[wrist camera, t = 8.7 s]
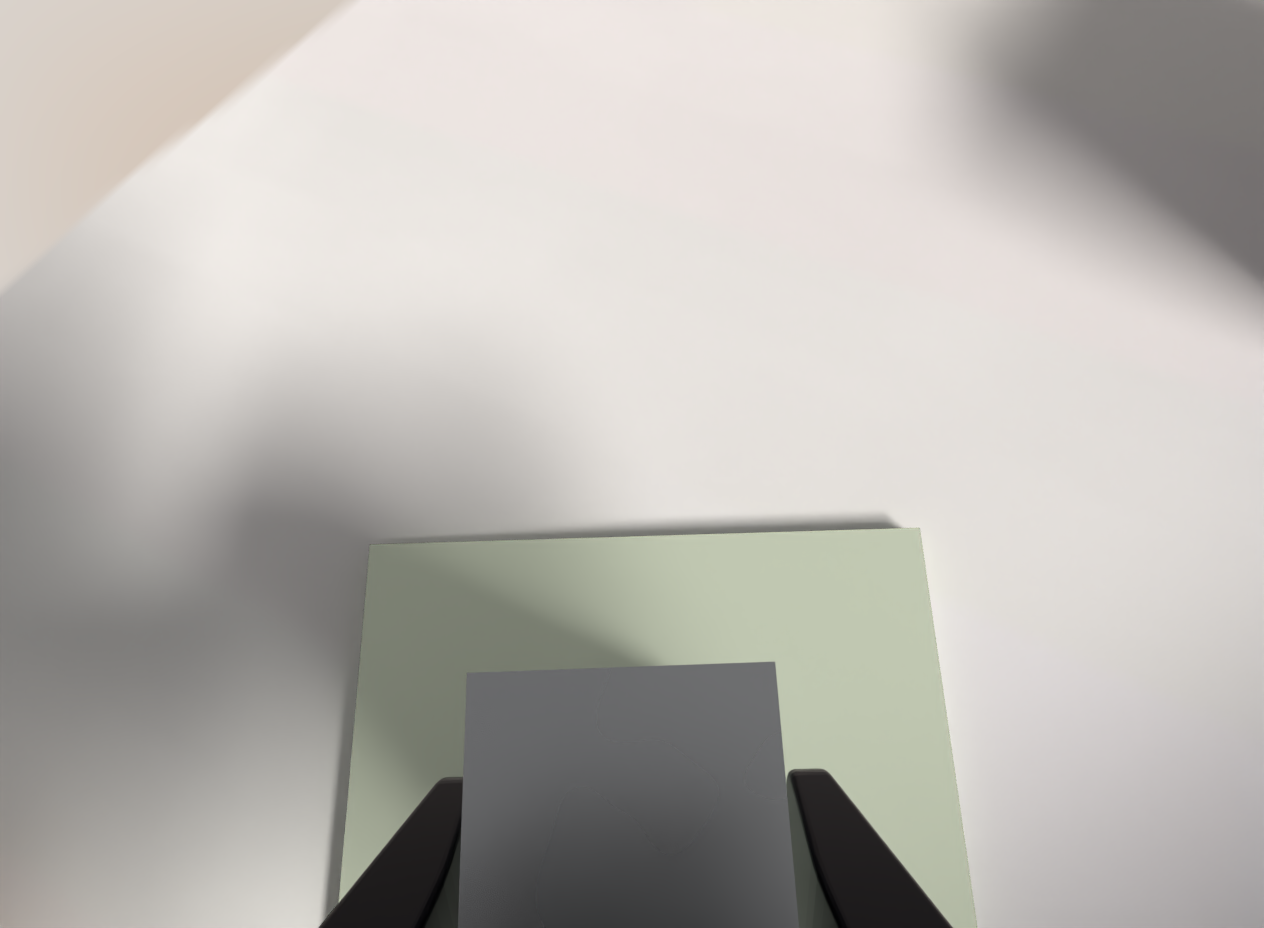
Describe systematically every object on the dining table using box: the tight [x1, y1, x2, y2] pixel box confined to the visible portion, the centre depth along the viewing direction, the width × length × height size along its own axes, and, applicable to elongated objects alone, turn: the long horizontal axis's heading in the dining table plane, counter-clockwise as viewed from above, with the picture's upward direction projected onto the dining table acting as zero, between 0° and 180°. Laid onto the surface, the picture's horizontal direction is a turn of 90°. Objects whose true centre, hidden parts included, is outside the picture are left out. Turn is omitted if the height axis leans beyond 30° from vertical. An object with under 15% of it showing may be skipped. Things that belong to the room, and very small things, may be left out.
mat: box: [338, 528, 977, 928], centre depth 15 cm, size 12×12×1 cm
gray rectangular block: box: [458, 662, 799, 928], centre depth 10 cm, size 5×2×10 cm, turn 2°
